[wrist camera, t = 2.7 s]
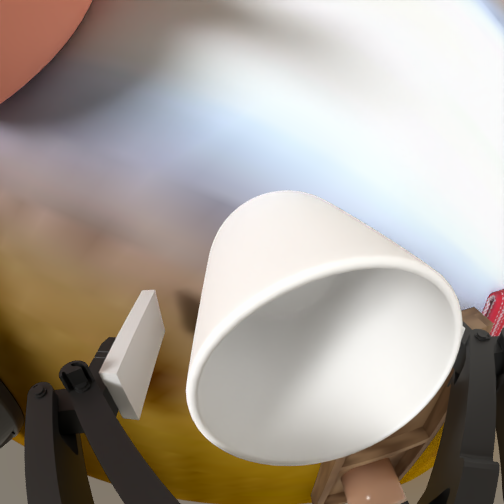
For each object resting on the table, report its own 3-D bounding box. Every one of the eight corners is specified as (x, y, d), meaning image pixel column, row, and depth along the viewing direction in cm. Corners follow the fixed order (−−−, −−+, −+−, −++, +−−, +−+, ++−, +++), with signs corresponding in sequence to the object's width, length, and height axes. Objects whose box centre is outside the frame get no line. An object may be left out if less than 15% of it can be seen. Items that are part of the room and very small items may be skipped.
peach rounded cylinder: (336, 486, 28) (347, 524, 21) (346, 467, 25) (360, 512, 19) (381, 472, 28) (395, 508, 21) (396, 451, 25) (414, 491, 19)
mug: (299, 369, 19) (334, 493, 10) (185, 349, 18) (164, 487, 8) (369, 213, 16) (500, 293, 6) (232, 168, 14) (233, 204, 5)
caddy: (310, 495, 30) (313, 510, 27) (350, 336, 19) (366, 363, 16) (387, 474, 31) (393, 487, 28) (474, 307, 19) (493, 323, 16)
